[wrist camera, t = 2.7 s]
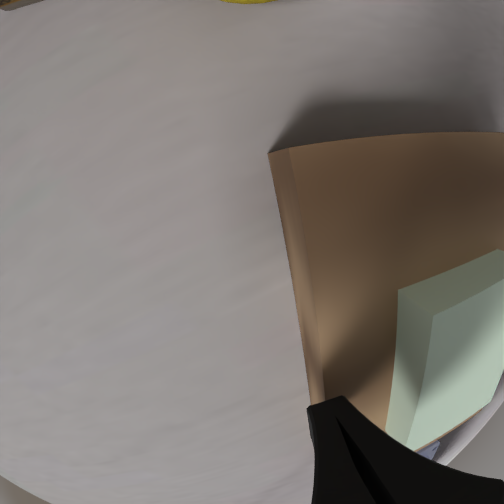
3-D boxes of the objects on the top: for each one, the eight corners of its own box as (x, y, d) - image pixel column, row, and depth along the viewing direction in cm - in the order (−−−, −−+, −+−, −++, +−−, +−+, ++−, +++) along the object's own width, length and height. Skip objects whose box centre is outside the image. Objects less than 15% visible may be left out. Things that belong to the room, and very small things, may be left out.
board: (459, 388, 16) (481, 410, 13) (317, 454, 15) (330, 488, 13) (481, 133, 11) (522, 133, 8) (267, 153, 10) (288, 147, 7)
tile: (471, 381, 12) (490, 401, 10) (385, 429, 11) (402, 457, 9) (497, 248, 9) (530, 262, 7) (397, 289, 9) (432, 315, 7)
